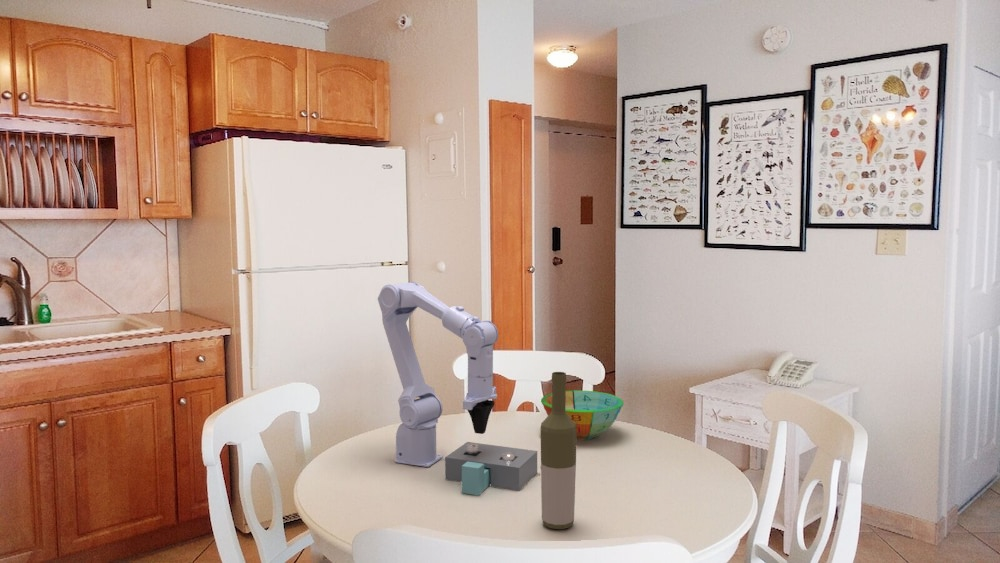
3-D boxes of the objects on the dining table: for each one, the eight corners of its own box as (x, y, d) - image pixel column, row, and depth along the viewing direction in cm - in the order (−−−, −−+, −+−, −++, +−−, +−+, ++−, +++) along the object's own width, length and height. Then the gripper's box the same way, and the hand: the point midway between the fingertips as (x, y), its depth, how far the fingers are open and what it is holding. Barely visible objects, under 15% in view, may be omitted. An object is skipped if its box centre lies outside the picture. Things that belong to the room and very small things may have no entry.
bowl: (629, 449, 183) (630, 411, 183) (542, 449, 184) (542, 411, 183) (616, 424, 206) (617, 390, 205) (539, 423, 206) (539, 389, 205)
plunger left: (464, 456, 164) (464, 445, 164) (469, 452, 167) (469, 442, 167) (475, 458, 163) (475, 447, 163) (480, 454, 166) (480, 443, 166)
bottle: (542, 515, 143) (543, 368, 140) (577, 518, 142) (579, 370, 139) (537, 530, 136) (538, 376, 134) (573, 534, 135) (575, 378, 132)
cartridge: (461, 492, 154) (461, 465, 154) (489, 469, 168) (489, 445, 168) (478, 495, 153) (478, 468, 152) (504, 472, 167) (504, 447, 166)
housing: (445, 479, 163) (445, 457, 162) (467, 462, 174) (467, 441, 173) (519, 490, 156) (519, 467, 155) (537, 472, 167) (537, 451, 166)
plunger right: (500, 466, 161) (500, 455, 161) (505, 462, 164) (505, 451, 163) (511, 468, 160) (511, 456, 160) (516, 464, 163) (516, 453, 162)
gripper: (483, 383, 154) (483, 444, 156) (508, 369, 168) (507, 426, 169) (454, 380, 157) (454, 440, 158) (480, 367, 170) (480, 422, 172)
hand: (479, 432), depth 164 cm, fingers closed
